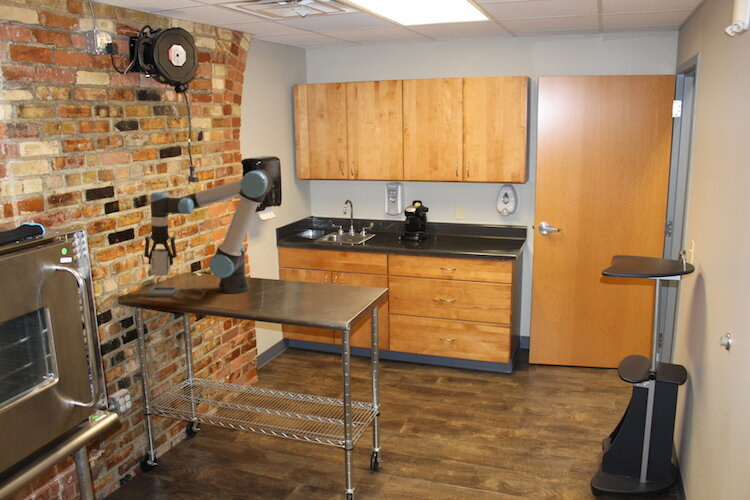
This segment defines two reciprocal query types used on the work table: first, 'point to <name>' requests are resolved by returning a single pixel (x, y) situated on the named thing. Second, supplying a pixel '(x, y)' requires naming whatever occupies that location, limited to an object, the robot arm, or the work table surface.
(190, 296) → the holder frame
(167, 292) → the tray
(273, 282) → the work table surface
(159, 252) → the cup
